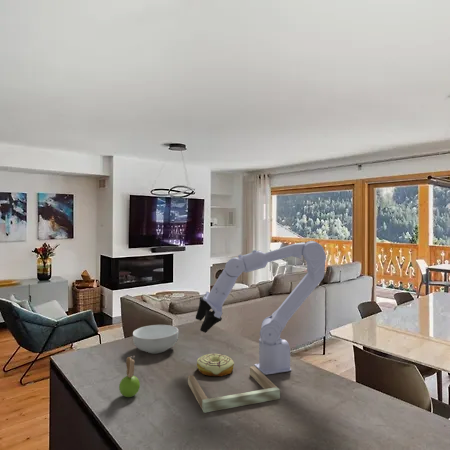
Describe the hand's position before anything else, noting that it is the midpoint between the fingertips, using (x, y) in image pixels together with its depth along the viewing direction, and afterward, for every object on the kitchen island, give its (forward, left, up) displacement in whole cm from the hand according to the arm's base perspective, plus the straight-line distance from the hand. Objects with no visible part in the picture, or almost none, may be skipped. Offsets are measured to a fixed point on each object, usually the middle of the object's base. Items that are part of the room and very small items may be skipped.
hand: (200, 325), depth 119 cm
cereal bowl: (+12, -19, -13) cm, 26 cm away
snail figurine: (+24, +15, -13) cm, 31 cm away
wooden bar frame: (-3, +21, -13) cm, 25 cm away
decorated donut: (-3, +6, -13) cm, 15 cm away
